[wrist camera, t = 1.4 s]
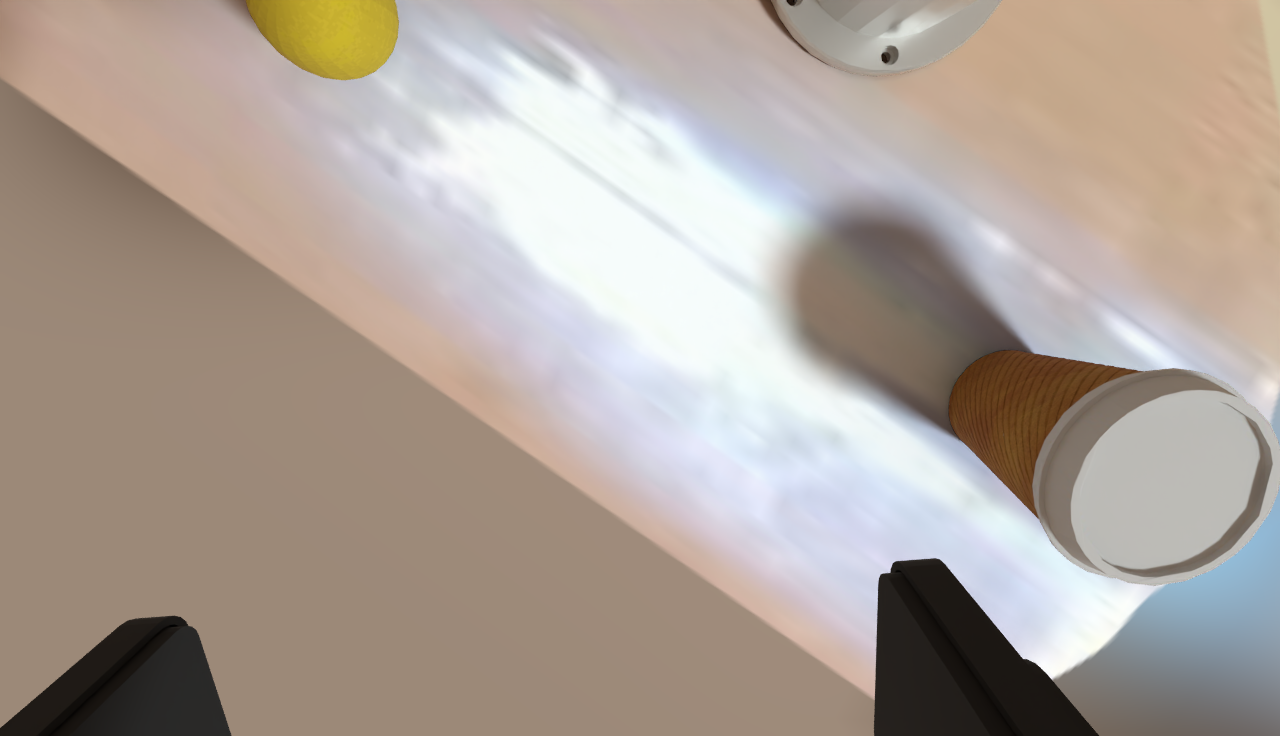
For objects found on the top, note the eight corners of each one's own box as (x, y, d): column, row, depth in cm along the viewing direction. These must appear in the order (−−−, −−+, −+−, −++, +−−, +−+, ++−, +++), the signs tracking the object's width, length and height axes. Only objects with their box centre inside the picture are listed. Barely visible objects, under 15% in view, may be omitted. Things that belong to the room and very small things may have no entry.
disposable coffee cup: (1014, 502, 39) (1184, 630, 27) (888, 431, 37) (1011, 534, 26) (1114, 371, 37) (1344, 448, 25) (986, 291, 35) (1166, 333, 24)
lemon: (384, 116, 32) (309, 87, 24) (285, 46, 31) (174, -7, 23) (441, 19, 31) (382, -44, 23) (341, -56, 30) (244, -148, 22)
